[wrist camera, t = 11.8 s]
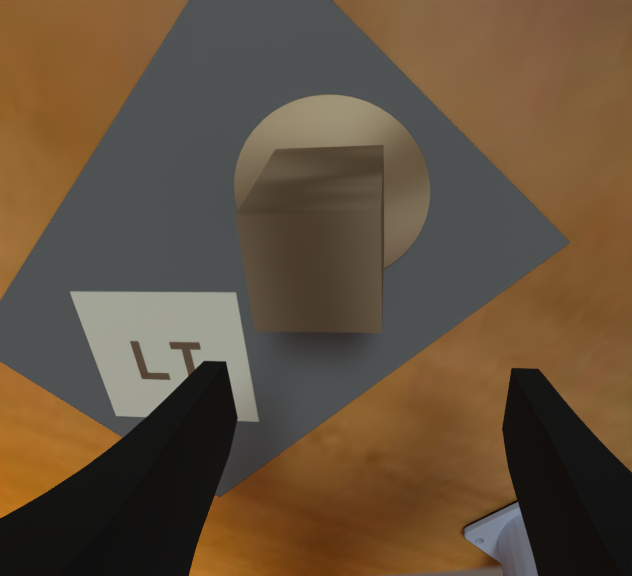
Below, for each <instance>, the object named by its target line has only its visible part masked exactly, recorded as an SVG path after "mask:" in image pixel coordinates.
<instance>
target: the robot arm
mask: <svg viewBox="0 0 632 576" xmlns="http://www.w3.org/2000/svg"><path fill="white" fill-rule="evenodd" d="M237 419H238V417H237V412H236V407H235V402H234V397H233V392H232V388H231V383H230V378H229V373H228V368H227V363H226V361H203V362H202V363H201V364H200V365H199V366H198V367H197V368H196V369H195V370H194V371H193V372H192V373H191V374H190V375H189V376H188V377H187V378H186V379H185V380H184V381H183V382H182V383H181V384H180V385H179V386H178V387H177V388H176V389H175V390H174V391H173V392H172V393H171V394H170V395H169V396H168V397H167V398H166V399H165V400H164V401H163V402H162V403H161V404H160V405H159V406H157V407H156V408H155V409H154V410H153V411H152V412H151V413H150V414H149V415H148V416H147V417H146V418H145V419H144V420H142V421H141V422H140V423H139V424H138V425H137V426H136V427H135V428H133V429H132V430H131V431H130V432H129V433H128V434H127V435H125V436H124V437H123V438H122V439H121V440H120V441H118V442H117V443H116V444H115V445H113V446H112V447H111V448H110V449H108V450H107V451H106V452H104V453H103V454H102V455H100V456H99V457H98V458H96V459H95V460H94V461H92V462H91V463H90V464H88V465H87V466H85V467H84V468H83V469H81V470H80V471H78V472H77V473H75V474H74V475H72V476H71V477H69V478H67V479H66V480H64V481H63V482H61V483H60V484H58V485H57V486H55V487H54V488H52V489H51V490H49V491H48V492H46V493H44V494H43V495H41V496H39V497H38V498H36V499H34V500H33V501H31V502H29V503H27V504H26V505H24V506H22V507H20V508H19V509H17V510H15V511H13V512H11V513H9V514H8V515H6V516H4V517H2V518H0V576H189V572H190V568H191V565H192V561H193V557H194V553H195V549H196V546H197V543H198V540H199V537H200V534H201V531H202V528H203V525H204V523H205V520H206V517H207V515H208V512H209V509H210V506H211V504H212V501H213V498H214V496H215V493H216V490H217V488H218V485H219V482H220V479H221V477H222V474H223V471H224V468H225V466H226V463H227V460H228V457H229V454H230V450H231V446H232V442H233V438H234V433H235V429H236V424H237ZM502 430H503V437H504V444H505V450H506V457H507V463H508V468H509V472H510V476H511V479H512V483H513V486H514V490H515V494H516V497H517V501H518V502H517V503H515V504H513V505H510V506H508V507H506V508H504V509H502V510H500V511H498V512H496V513H494V514H492V515H490V516H488V517H486V518H484V519H482V520H480V521H478V522H476V523H474V524H472V525H470V526H468V527H466V528H465V529H464V536H465V538H466V539H467V540H468V541H470V542H471V543H473V544H474V545H475V546H477V547H478V548H480V549H481V550H482V551H484V552H485V553H487V554H488V555H490V556H491V557H492V558H494V559H495V560H497V561H498V562H499V563H501V564H502V570H503V575H504V576H632V472H631V471H630V470H629V469H628V468H626V467H625V466H624V465H623V464H622V463H621V462H620V461H619V460H618V459H617V458H616V457H615V456H614V455H613V454H612V453H611V452H610V451H609V450H608V449H607V447H606V446H605V445H604V444H603V443H602V442H601V441H600V440H599V439H598V438H597V437H596V436H595V435H594V434H593V433H592V431H591V430H590V429H589V428H588V427H587V426H586V425H585V424H584V423H583V421H582V420H581V419H580V418H579V417H578V416H577V415H576V414H575V412H574V411H573V410H572V409H571V408H570V406H569V405H568V404H567V403H566V402H565V401H564V399H563V398H562V397H561V396H560V394H559V393H558V392H557V391H556V390H555V388H554V387H553V386H552V385H551V383H550V382H549V381H548V380H547V378H546V377H545V376H544V375H543V373H542V372H541V371H540V370H539V369H524V368H512V369H511V376H510V382H509V389H508V395H507V402H506V408H505V415H504V421H503V427H502Z"/></svg>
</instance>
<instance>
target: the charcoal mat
mask: <svg viewBox="0 0 632 576" xmlns="http://www.w3.org/2000/svg"><path fill="white" fill-rule="evenodd" d="M322 94H338V95H345V96H351V97H355V98H358V99H362V100H365V101H368V102H370V103H372V104H374V105H376V106H379V107H380V108H382V109H383V110H385V111H387V112H388V113H390V114H391V115H392V116H393V117H395V118H396V119H397V120H398V121H399V122H401V123H402V124H403V126H404V127H405V128H406V129H407V130H408V131H409V132H410V133H411V135H412V136H413V138H414V139H415V141H416V142H417V144H418V146H419V148H420V150H421V152H422V154H423V156H424V159H425V162H426V165H427V169H428V174H429V180H430V202H429V209H428V213H427V216H426V220H425V222H424V225H423V227H422V229H421V231H420V233H419V235H418V237H417V238H416V240H415V241H414V243H413V244H412V245H411V246H410V248H409V249H408V250H407V251H406V252H405V253H404V254H403V255H402V256H401V257H400V258H399V259H398V260H396V261H395V262H394V263H392V264H391V265H389V266H388V267H386V268H384V272H383V315H382V333H341V332H262V331H255V330H254V324H253V318H252V312H251V306H250V300H249V294H248V288H247V282H246V276H245V270H244V264H243V258H242V252H241V246H240V240H239V234H238V228H237V222H236V216H235V215H236V213H237V211H238V209H237V205H236V201H235V192H234V178H235V170H236V165H237V161H238V158H239V155H240V152H241V150H242V148H243V146H244V144H245V142H246V140H247V139H248V137H249V136H250V134H251V133H252V132H253V130H254V129H255V128H256V127H257V126H258V125H259V124H260V122H261V121H262V120H263V119H265V118H266V117H267V116H268V115H269V114H271V113H272V112H273V111H275V110H277V109H278V108H280V107H282V106H283V105H285V104H287V103H290V102H292V101H295V100H297V99H301V98H304V97H308V96H314V95H322ZM569 243H570V242H569V241H568V240H567V239H566V238H565V237H564V236H563V235H562V234H561V233H560V232H559V231H558V230H557V229H556V228H555V227H554V226H553V225H552V224H551V223H550V222H549V221H548V220H547V219H546V218H545V217H544V216H543V215H542V213H541V212H540V211H539V210H538V209H537V208H536V207H535V206H534V205H533V204H532V203H531V202H530V201H529V200H528V199H527V198H526V197H525V196H524V195H523V194H522V193H521V192H520V191H519V190H518V189H517V188H516V187H515V186H514V185H513V184H512V183H511V182H510V181H509V180H508V179H507V178H506V177H505V176H504V175H503V174H502V173H501V172H500V171H499V170H498V169H497V168H496V167H495V166H494V165H493V164H492V163H491V162H490V161H489V160H488V159H487V158H486V157H485V156H484V155H483V154H482V153H481V152H480V151H479V150H478V149H477V148H476V147H475V146H474V144H473V143H472V142H471V141H470V140H469V139H468V138H467V137H466V136H465V135H464V134H463V133H462V132H461V131H460V130H459V129H458V128H457V127H456V126H455V125H454V124H453V123H452V122H451V121H450V120H449V119H448V118H447V117H446V116H445V115H444V114H443V113H442V112H441V111H440V110H439V109H438V108H437V107H436V106H435V105H434V104H433V103H432V102H431V101H430V100H429V99H428V98H427V97H426V96H425V95H424V94H423V93H422V92H421V91H420V90H419V89H418V88H417V87H416V86H415V85H414V84H413V83H412V82H411V81H410V80H409V79H408V78H407V77H406V76H405V74H404V73H403V72H402V71H401V70H400V69H399V68H398V67H397V66H396V65H395V64H394V63H393V62H392V61H391V60H390V59H389V58H388V57H387V56H386V55H385V54H384V53H383V52H382V51H381V50H380V49H379V48H378V47H377V46H376V45H375V44H374V43H373V42H372V41H371V40H370V39H369V38H368V37H367V36H366V35H365V34H364V33H363V32H362V31H361V30H360V29H359V28H358V27H357V26H356V25H355V24H354V23H353V22H352V21H351V20H350V19H349V18H348V17H347V16H346V15H345V14H344V13H343V12H342V11H341V10H340V9H339V8H338V7H337V6H336V4H335V3H334V2H333V1H332V0H189V1H188V3H187V5H186V6H185V8H184V9H183V11H182V13H181V14H180V16H179V17H178V19H177V21H176V22H175V24H174V25H173V27H172V29H171V30H170V32H169V33H168V35H167V36H166V38H165V40H164V41H163V43H162V44H161V46H160V48H159V49H158V51H157V52H156V54H155V56H154V57H153V59H152V60H151V62H150V64H149V65H148V67H147V68H146V70H145V71H144V73H143V75H142V76H141V78H140V79H139V81H138V83H137V84H136V86H135V87H134V89H133V91H132V92H131V94H130V95H129V97H128V99H127V100H126V102H125V103H124V105H123V106H122V108H121V110H120V111H119V113H118V114H117V116H116V118H115V119H114V121H113V122H112V124H111V126H110V127H109V129H108V130H107V132H106V134H105V135H104V137H103V138H102V140H101V141H100V143H99V145H98V146H97V148H96V149H95V151H94V153H93V154H92V156H91V157H90V159H89V161H88V162H87V164H86V165H85V167H84V169H83V170H82V172H81V173H80V175H79V176H78V178H77V180H76V181H75V183H74V184H73V186H72V188H71V189H70V191H69V192H68V194H67V196H66V197H65V199H64V200H63V202H62V204H61V205H60V207H59V208H58V210H57V211H56V213H55V215H54V216H53V218H52V219H51V221H50V223H49V224H48V226H47V227H46V229H45V231H44V232H43V234H42V235H41V237H40V239H39V240H38V242H37V243H36V245H35V246H34V248H33V250H32V251H31V253H30V254H29V256H28V258H27V259H26V261H25V262H24V264H23V266H22V267H21V269H20V270H19V272H18V274H17V275H16V277H15V278H14V280H13V281H12V283H11V285H10V286H9V288H8V289H7V291H6V293H5V294H4V296H3V297H2V299H1V301H0V362H2V363H4V364H5V365H7V366H8V367H10V368H12V369H13V370H15V371H16V372H18V373H20V374H21V375H23V376H25V377H26V378H28V379H29V380H31V381H33V382H34V383H36V384H37V385H39V386H41V387H42V388H44V389H46V390H47V391H49V392H50V393H52V394H54V395H55V396H57V397H58V398H60V399H62V400H63V401H65V402H67V403H68V404H70V405H71V406H73V407H75V408H76V409H78V410H79V411H81V412H83V413H84V414H86V415H88V416H89V417H91V418H92V419H94V420H96V421H97V422H99V423H100V424H102V425H104V426H105V427H107V428H109V429H110V430H112V431H113V432H115V433H117V434H118V435H120V436H121V437H124V436H125V435H127V434H128V433H129V432H130V431H131V430H132V429H133V428H135V427H136V426H137V425H138V424H139V423H140V422H141V421H142V420H144V419H145V418H146V417H128V416H116V414H115V412H114V409H113V406H112V404H111V401H110V398H109V396H108V393H107V390H106V388H105V385H104V382H103V380H102V377H101V374H100V372H99V369H98V366H97V364H96V361H95V358H94V356H93V353H92V350H91V348H90V345H89V342H88V340H87V337H86V334H85V332H84V329H83V326H82V324H81V321H80V318H79V315H78V313H77V310H76V307H75V305H74V302H73V299H72V297H71V294H70V292H71V291H80V292H236V293H237V299H238V304H239V310H240V316H241V321H242V327H243V333H244V338H245V344H246V350H247V355H248V361H249V367H250V372H251V378H252V384H253V389H254V395H255V401H256V406H257V412H258V417H259V422H251V421H237V424H236V429H235V433H234V438H233V442H232V446H231V450H230V454H229V457H228V460H227V463H226V466H225V468H224V471H223V474H222V477H221V479H220V482H219V485H218V488H217V490H216V493H215V495H217V496H218V497H221V496H222V495H223V494H225V493H226V492H228V491H229V490H230V489H232V488H233V487H234V486H236V485H237V484H239V483H240V482H241V481H243V480H244V479H245V478H247V477H248V476H250V475H251V474H252V473H254V472H255V471H256V470H258V469H259V468H261V467H262V466H263V465H265V464H266V463H267V462H269V461H270V460H272V459H273V458H274V457H276V456H277V455H278V454H280V453H281V452H283V451H284V450H285V449H287V448H288V447H289V446H291V445H292V444H294V443H295V442H296V441H298V440H299V439H300V438H302V437H303V436H305V435H306V434H307V433H309V432H310V431H311V430H313V429H314V428H316V427H317V426H318V425H320V424H321V423H322V422H324V421H325V420H327V419H328V418H329V417H331V416H332V415H333V414H335V413H336V412H338V411H339V410H340V409H342V408H343V407H344V406H346V405H347V404H349V403H350V402H351V401H353V400H354V399H355V398H357V397H358V396H360V395H361V394H362V393H364V392H365V391H366V390H368V389H369V388H371V387H372V386H373V385H375V384H376V383H377V382H379V381H380V380H382V379H383V378H384V377H386V376H387V375H388V374H390V373H391V372H393V371H394V370H395V369H397V368H398V367H399V366H401V365H402V364H404V363H405V362H406V361H408V360H409V359H410V358H412V357H413V356H415V355H416V354H417V353H419V352H420V351H421V350H423V349H424V348H426V347H427V346H428V345H430V344H431V343H432V342H434V341H435V340H437V339H438V338H439V337H441V336H442V335H443V334H445V333H446V332H448V331H449V330H450V329H452V328H453V327H454V326H456V325H457V324H459V323H460V322H461V321H463V320H464V319H465V318H467V317H468V316H470V315H471V314H472V313H474V312H475V311H476V310H478V309H479V308H481V307H482V306H483V305H485V304H486V303H487V302H489V301H490V300H492V299H493V298H494V297H496V296H497V295H498V294H500V293H501V292H503V291H504V290H505V289H507V288H508V287H509V286H511V285H512V284H514V283H515V282H516V281H518V280H519V279H520V278H522V277H523V276H525V275H526V274H527V273H529V272H530V271H531V270H533V269H534V268H536V267H537V266H538V265H540V264H541V263H542V262H544V261H545V260H547V259H548V258H549V257H551V256H552V255H553V254H555V253H556V252H558V251H559V250H560V249H562V248H563V247H564V246H566V245H567V244H569Z"/></svg>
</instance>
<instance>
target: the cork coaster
mask: <svg viewBox="0 0 632 576" xmlns="http://www.w3.org/2000/svg"><path fill="white" fill-rule="evenodd" d="M367 145H384V268H386V267H388V266H389V265H391V264H392V263H394V262H395V261H396V260H398V259H399V258H400V257H401V256H402V255H403V254H404V253H405V252H406V251H407V250H408V249H409V248H410V246H411V245H412V244H413V243H414V241H415V240H416V238H417V237H418V235H419V233H420V231H421V229H422V227H423V225H424V222H425V220H426V216H427V213H428V209H429V202H430V180H429V174H428V169H427V165H426V162H425V159H424V156H423V154H422V152H421V150H420V148H419V146H418V144H417V142H416V141H415V139H414V138H413V136H412V135H411V133H410V132H409V131H408V130H407V129H406V128H405V127H404V126H403V124H402V123H401V122H399V121H398V120H397V119H396V118H395V117H393V116H392V115H391V114H390V113H388V112H387V111H385V110H383V109H382V108H380V107H379V106H376V105H374V104H372V103H370V102H368V101H365V100H362V99H358V98H355V97H351V96H345V95H338V94H322V95H314V96H308V97H304V98H301V99H297V100H295V101H292V102H290V103H287V104H285V105H283V106H282V107H280V108H278V109H277V110H275V111H273V112H272V113H271V114H269V115H268V116H267V117H266V118H265V119H263V120H262V121H261V122H260V124H259V125H258V126H257V127H256V128H255V129H254V130H253V132H252V133H251V134H250V136H249V137H248V139H247V140H246V142H245V144H244V146H243V148H242V150H241V152H240V155H239V158H238V161H237V165H236V170H235V178H234V192H235V201H236V205H237V209H238V210H239V208H240V206H241V205H242V203H243V201H244V200H245V198H246V197H247V195H248V193H249V192H250V190H251V188H252V187H253V185H254V183H255V182H256V180H257V178H258V177H259V175H260V173H261V172H262V170H263V169H264V167H265V165H266V164H267V162H268V160H269V159H270V157H271V155H272V154H273V152H274V150H275V149H287V148H314V147H341V146H367Z"/></svg>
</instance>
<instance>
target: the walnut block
mask: <svg viewBox="0 0 632 576" xmlns="http://www.w3.org/2000/svg"><path fill="white" fill-rule="evenodd" d="M235 216H236V222H237V228H238V234H239V240H240V246H241V252H242V258H243V264H244V270H245V276H246V282H247V288H248V294H249V300H250V306H251V312H252V318H253V324H254V330H255V331H262V332H341V333H382V315H383V272H384V145H367V146H341V147H314V148H287V149H275V150H274V152H273V154H272V155H271V157H270V159H269V160H268V162H267V164H266V165H265V167H264V169H263V170H262V172H261V173H260V175H259V177H258V178H257V180H256V182H255V183H254V185H253V187H252V188H251V190H250V192H249V193H248V195H247V197H246V198H245V200H244V201H243V203H242V205H241V206H240V208H239V210H238V211H237V213H236V215H235Z"/></svg>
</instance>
